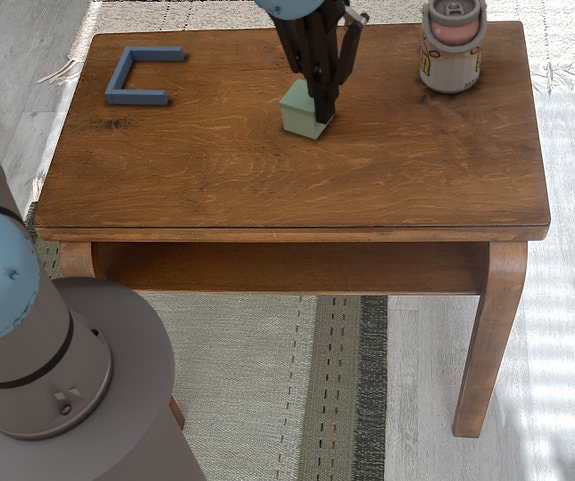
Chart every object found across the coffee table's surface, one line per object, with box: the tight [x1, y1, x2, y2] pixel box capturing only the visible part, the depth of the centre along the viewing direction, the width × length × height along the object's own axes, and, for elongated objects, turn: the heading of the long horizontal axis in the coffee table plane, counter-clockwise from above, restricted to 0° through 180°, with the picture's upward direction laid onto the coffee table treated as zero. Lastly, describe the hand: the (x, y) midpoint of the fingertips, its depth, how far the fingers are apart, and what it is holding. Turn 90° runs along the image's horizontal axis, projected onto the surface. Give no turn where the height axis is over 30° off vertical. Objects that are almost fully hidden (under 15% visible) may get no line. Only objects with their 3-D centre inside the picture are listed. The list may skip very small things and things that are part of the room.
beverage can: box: [419, 0, 489, 94], centre depth 101 cm, size 9×8×12 cm
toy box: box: [278, 78, 334, 140], centre depth 101 cm, size 5×5×5 cm
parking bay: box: [104, 45, 185, 106], centre depth 112 cm, size 9×11×2 cm
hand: (325, 116), depth 99 cm, fingers closed
